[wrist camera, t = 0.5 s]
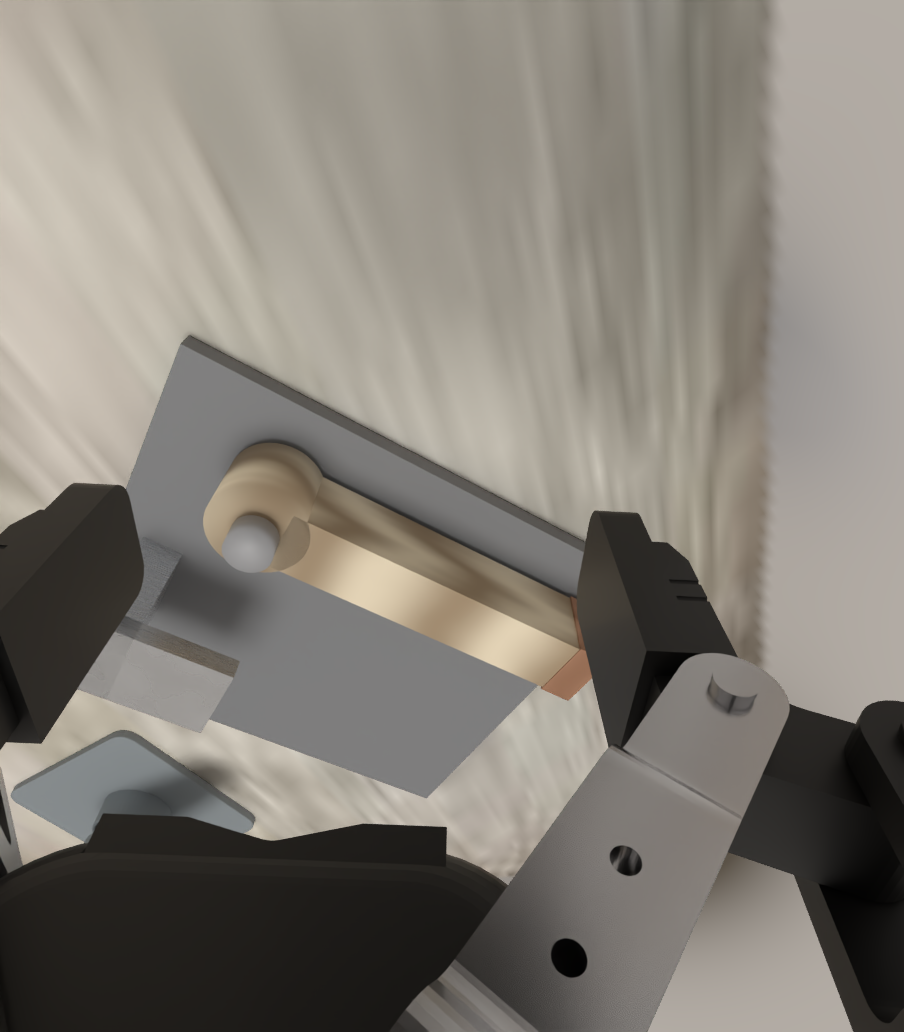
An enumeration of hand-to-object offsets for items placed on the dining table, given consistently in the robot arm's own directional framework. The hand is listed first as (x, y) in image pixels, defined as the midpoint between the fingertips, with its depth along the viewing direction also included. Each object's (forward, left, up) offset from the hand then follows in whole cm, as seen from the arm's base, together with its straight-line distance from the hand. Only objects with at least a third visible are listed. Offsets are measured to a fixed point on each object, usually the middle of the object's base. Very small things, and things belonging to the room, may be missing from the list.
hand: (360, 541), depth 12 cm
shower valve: (+41, +1, -19) cm, 45 cm away
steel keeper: (+20, -2, -17) cm, 26 cm away
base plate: (+18, +5, -18) cm, 26 cm away
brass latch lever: (+11, +6, -17) cm, 21 cm away
